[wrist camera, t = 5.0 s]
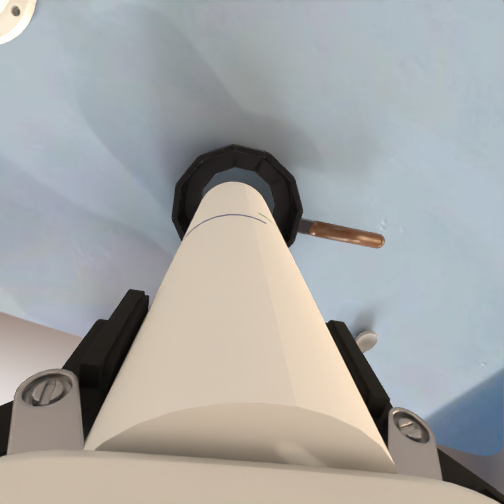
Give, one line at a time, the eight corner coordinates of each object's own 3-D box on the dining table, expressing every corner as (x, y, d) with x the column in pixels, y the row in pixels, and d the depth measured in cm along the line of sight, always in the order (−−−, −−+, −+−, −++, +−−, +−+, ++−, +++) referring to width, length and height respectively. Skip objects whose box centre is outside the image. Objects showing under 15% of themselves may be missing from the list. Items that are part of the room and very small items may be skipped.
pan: (188, 133, 33) (181, 132, 29) (390, 180, 36) (411, 185, 32) (173, 247, 38) (166, 261, 34) (352, 280, 41) (366, 296, 37)
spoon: (378, 330, 44) (384, 340, 42) (334, 380, 49) (337, 390, 47) (363, 323, 44) (368, 332, 42) (319, 374, 48) (322, 385, 46)
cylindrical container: (208, 171, 27) (76, 365, 4) (278, 194, 29) (468, 438, 6) (190, 239, 30) (45, 595, 7) (255, 257, 31) (322, 612, 8)
